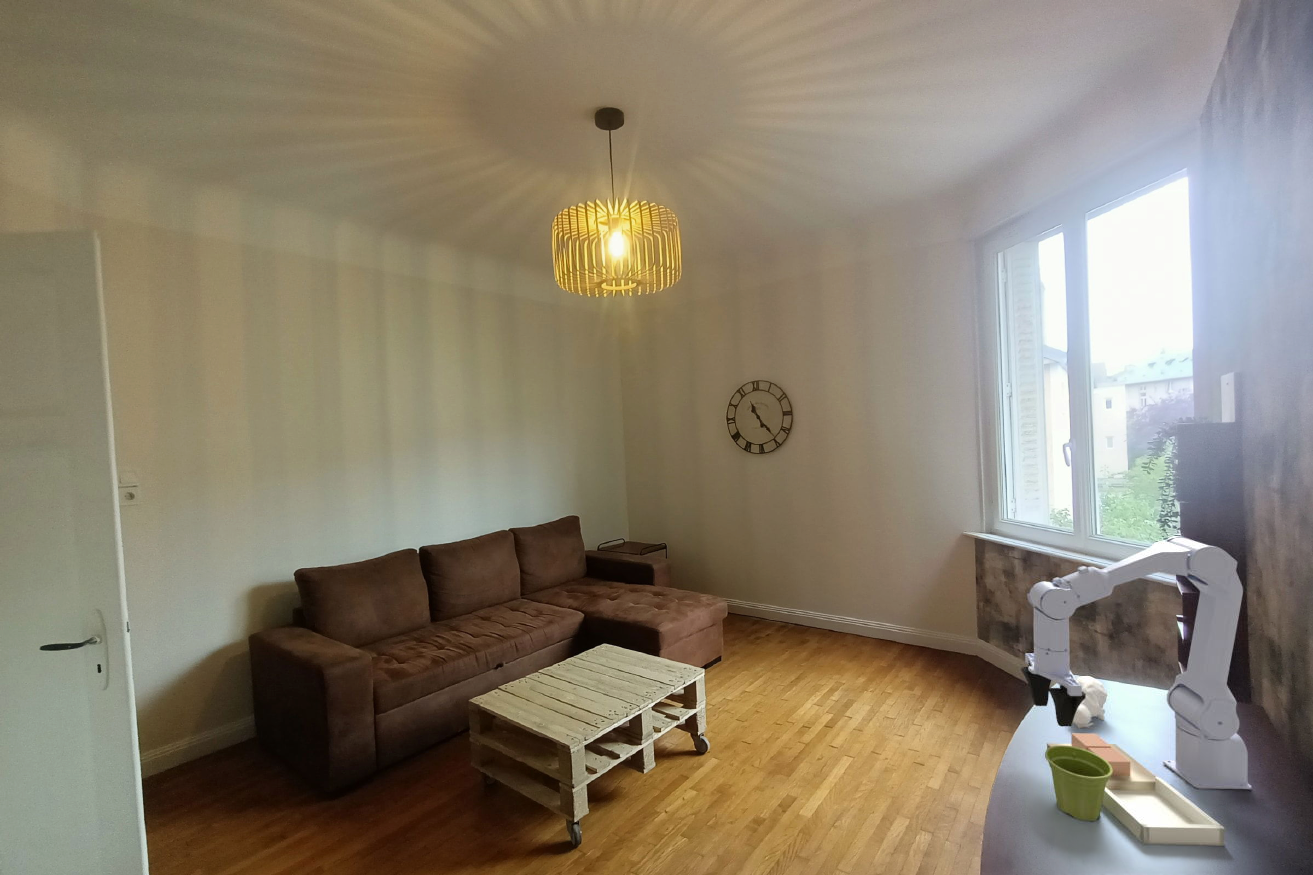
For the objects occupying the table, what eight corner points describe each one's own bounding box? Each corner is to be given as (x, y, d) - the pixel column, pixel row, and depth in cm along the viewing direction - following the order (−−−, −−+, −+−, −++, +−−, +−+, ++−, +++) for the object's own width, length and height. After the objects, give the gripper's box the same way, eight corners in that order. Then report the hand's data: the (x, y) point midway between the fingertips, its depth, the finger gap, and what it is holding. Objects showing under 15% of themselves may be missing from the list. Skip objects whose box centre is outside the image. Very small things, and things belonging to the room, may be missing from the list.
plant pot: (1125, 831, 96) (1125, 779, 95) (1060, 825, 97) (1060, 774, 97) (1094, 794, 105) (1094, 747, 104) (1036, 789, 107) (1035, 743, 106)
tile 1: (1095, 745, 116) (1095, 733, 116) (1111, 759, 112) (1111, 746, 112) (1071, 745, 117) (1071, 733, 116) (1086, 758, 112) (1086, 746, 112)
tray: (1159, 792, 105) (1159, 777, 105) (1224, 845, 92) (1224, 828, 92) (1089, 791, 106) (1089, 776, 106) (1143, 843, 93) (1143, 826, 93)
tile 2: (1113, 760, 111) (1113, 747, 111) (1130, 775, 107) (1130, 761, 107) (1088, 760, 112) (1088, 747, 111) (1104, 774, 107) (1104, 761, 107)
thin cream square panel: (1115, 753, 117) (1115, 743, 117) (1162, 792, 105) (1162, 781, 105) (1047, 752, 118) (1046, 743, 118) (1086, 791, 106) (1086, 780, 106)
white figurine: (1108, 677, 130) (1095, 701, 123) (1109, 713, 131) (1096, 739, 123) (1074, 669, 135) (1059, 691, 127) (1075, 704, 136) (1060, 728, 128)
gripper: (1009, 632, 121) (1010, 697, 121) (1052, 661, 106) (1053, 735, 107) (1045, 631, 120) (1046, 696, 121) (1093, 661, 106) (1094, 735, 106)
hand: (1052, 714), depth 114 cm, fingers open, 7 cm apart
